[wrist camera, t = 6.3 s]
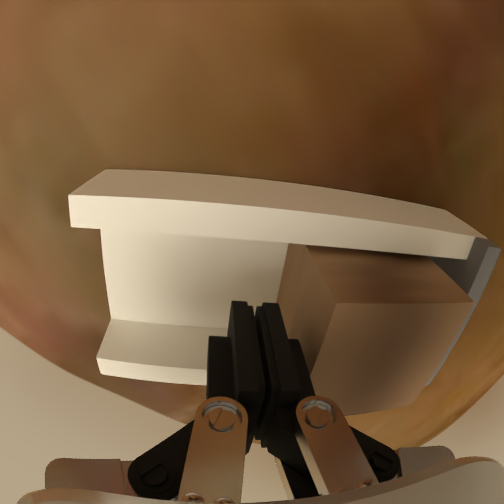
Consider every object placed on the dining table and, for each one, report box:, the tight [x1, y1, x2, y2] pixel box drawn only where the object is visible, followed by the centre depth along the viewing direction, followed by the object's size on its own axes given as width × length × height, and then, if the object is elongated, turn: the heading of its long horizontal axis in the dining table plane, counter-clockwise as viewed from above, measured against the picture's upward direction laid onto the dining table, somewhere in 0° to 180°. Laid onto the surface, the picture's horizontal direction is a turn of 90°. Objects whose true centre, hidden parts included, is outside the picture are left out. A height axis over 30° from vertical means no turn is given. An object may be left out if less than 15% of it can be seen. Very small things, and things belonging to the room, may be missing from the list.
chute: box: [68, 169, 501, 386], centre depth 14 cm, size 18×9×5 cm, turn 83°
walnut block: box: [276, 243, 474, 416], centre depth 13 cm, size 6×6×6 cm
